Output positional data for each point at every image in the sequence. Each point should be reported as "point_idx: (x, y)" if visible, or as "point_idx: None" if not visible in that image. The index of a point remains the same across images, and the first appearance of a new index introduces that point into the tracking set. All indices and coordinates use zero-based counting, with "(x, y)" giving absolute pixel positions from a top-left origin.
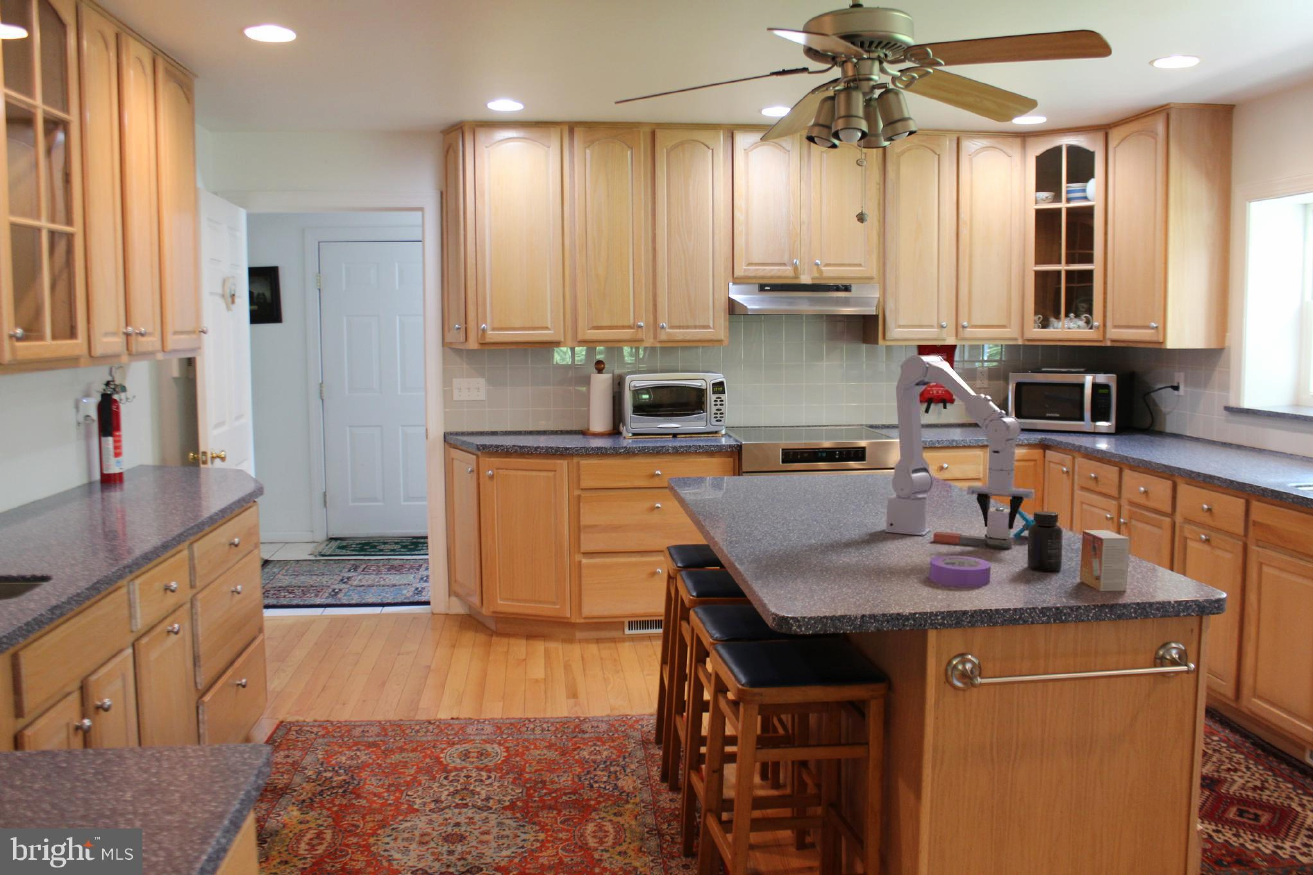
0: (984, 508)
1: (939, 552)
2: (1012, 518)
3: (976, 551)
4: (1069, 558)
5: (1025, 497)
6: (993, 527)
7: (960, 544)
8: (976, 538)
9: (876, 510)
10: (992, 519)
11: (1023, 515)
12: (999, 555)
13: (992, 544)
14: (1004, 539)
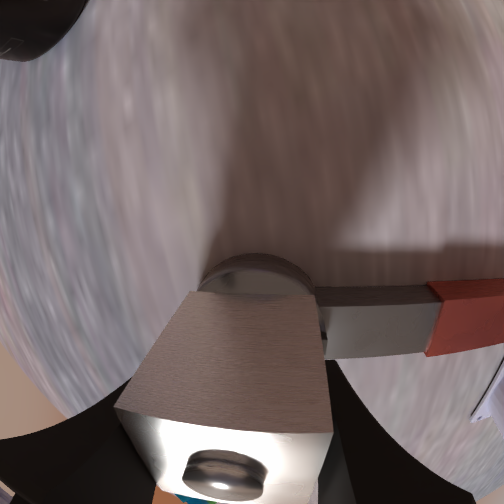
0: (372, 458)
1: (473, 74)
2: (122, 390)
3: (342, 156)
4: (11, 224)
5: (9, 500)
6: (271, 330)
7: (422, 285)
8: (366, 306)
9: (491, 472)
10: (280, 372)
11: (176, 495)
12: (213, 114)
13: (275, 265)
14: None
